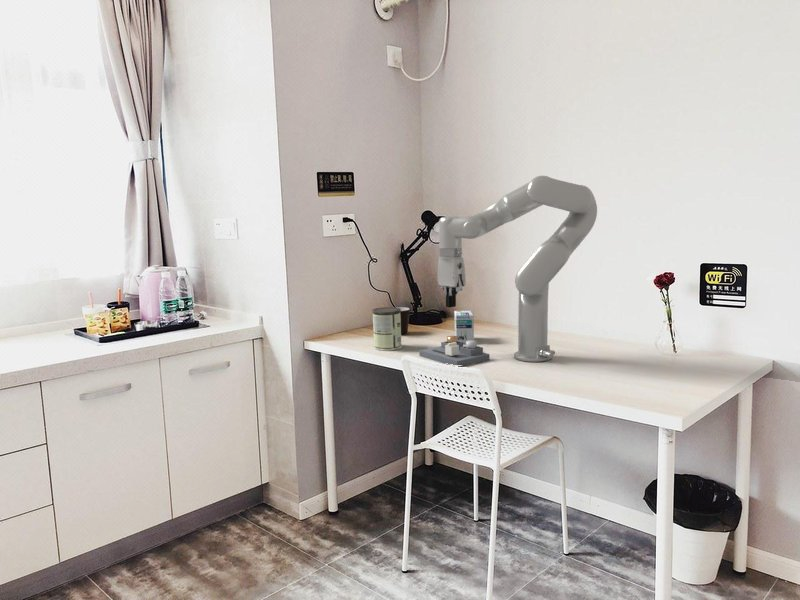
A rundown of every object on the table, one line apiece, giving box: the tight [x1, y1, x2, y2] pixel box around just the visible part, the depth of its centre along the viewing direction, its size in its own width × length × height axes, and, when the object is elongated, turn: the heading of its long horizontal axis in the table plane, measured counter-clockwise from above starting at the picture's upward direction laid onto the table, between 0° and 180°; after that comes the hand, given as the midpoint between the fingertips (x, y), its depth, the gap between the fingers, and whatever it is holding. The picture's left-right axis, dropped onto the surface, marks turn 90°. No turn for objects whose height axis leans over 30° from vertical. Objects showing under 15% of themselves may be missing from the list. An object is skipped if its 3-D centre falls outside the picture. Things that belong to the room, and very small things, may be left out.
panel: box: [418, 340, 490, 367], centre depth 226 cm, size 20×14×4 cm
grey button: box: [465, 339, 478, 349], centre depth 224 cm, size 4×4×3 cm
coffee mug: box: [395, 306, 411, 336], centre depth 266 cm, size 12×9×10 cm
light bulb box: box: [453, 310, 475, 345], centre depth 252 cm, size 11×7×11 cm, turn 179°
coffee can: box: [371, 306, 403, 352], centre depth 244 cm, size 10×10×14 cm
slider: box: [445, 342, 459, 356], centre depth 221 cm, size 3×3×4 cm
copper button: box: [446, 335, 457, 343], centre depth 232 cm, size 4×4×3 cm
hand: (450, 306), depth 230 cm, fingers closed
